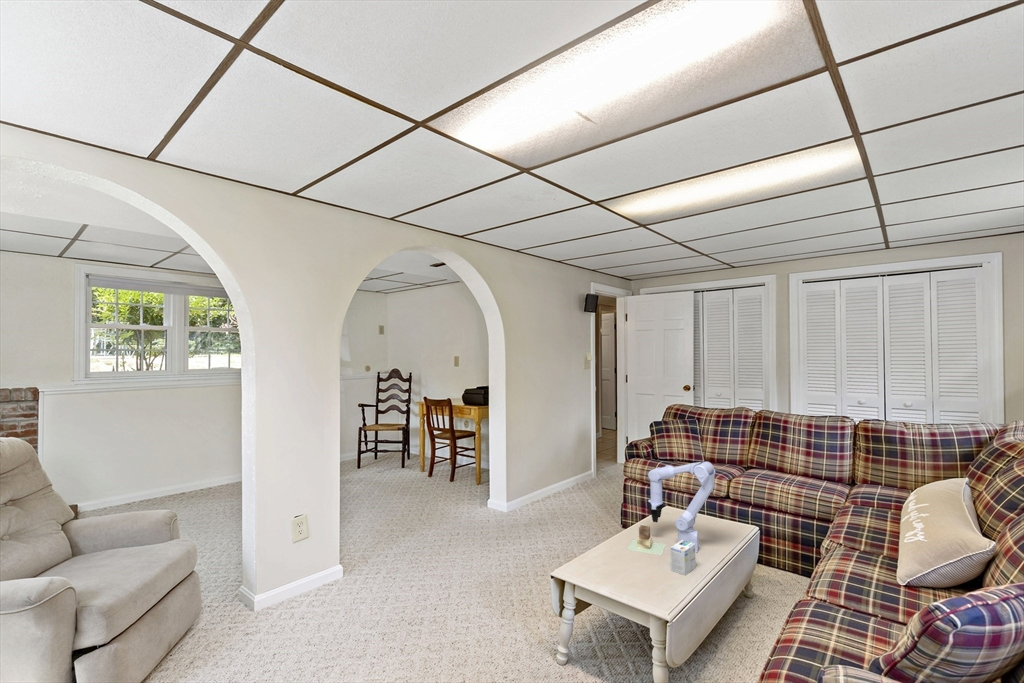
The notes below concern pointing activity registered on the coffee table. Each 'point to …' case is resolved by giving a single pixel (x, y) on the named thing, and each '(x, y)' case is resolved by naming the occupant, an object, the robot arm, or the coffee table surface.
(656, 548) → the plate
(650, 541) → the maple base brick
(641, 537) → the walnut brick
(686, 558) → the light bulb box
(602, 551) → the coffee table surface
